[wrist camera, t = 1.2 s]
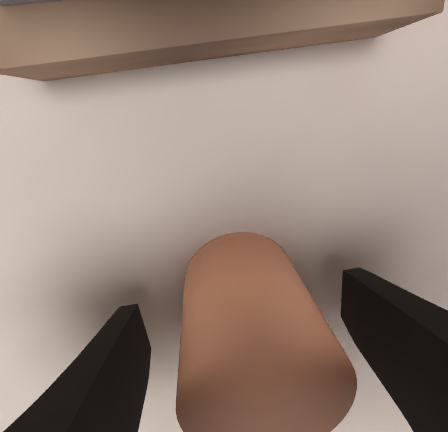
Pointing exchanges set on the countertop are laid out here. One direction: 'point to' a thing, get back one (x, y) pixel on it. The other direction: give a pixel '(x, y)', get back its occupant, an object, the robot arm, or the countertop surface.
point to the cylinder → (256, 345)
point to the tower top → (20, 1)
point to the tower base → (181, 31)
